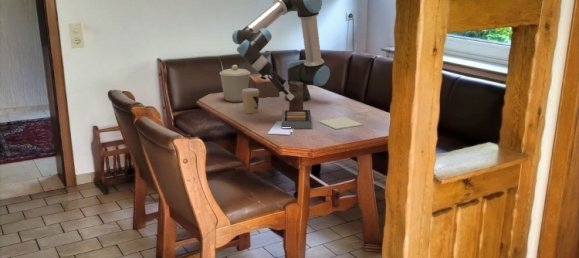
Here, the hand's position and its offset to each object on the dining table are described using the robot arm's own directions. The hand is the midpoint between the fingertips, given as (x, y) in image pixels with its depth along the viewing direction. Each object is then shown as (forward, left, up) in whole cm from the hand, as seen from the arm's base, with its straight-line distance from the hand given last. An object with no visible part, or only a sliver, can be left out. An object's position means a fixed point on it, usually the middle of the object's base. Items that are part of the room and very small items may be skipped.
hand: (292, 95), depth 285 cm
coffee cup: (+11, -27, -13) cm, 32 cm away
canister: (+7, -56, -13) cm, 58 cm away
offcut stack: (+4, +10, -13) cm, 17 cm away
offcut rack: (+1, +5, -13) cm, 14 cm away
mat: (-17, +18, -13) cm, 28 cm away
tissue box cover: (-16, -65, -13) cm, 68 cm away
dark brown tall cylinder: (-2, 0, -13) cm, 13 cm away
